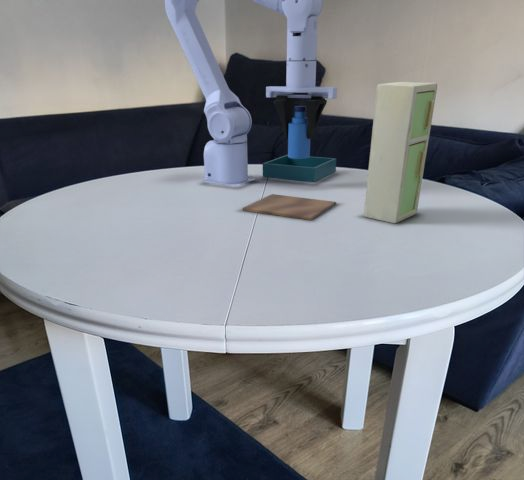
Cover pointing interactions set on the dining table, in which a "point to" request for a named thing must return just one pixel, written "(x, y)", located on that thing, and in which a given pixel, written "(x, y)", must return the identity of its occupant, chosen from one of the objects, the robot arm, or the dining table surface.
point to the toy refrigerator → (398, 149)
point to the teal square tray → (299, 168)
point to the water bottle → (298, 135)
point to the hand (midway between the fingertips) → (299, 137)
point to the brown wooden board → (290, 206)
